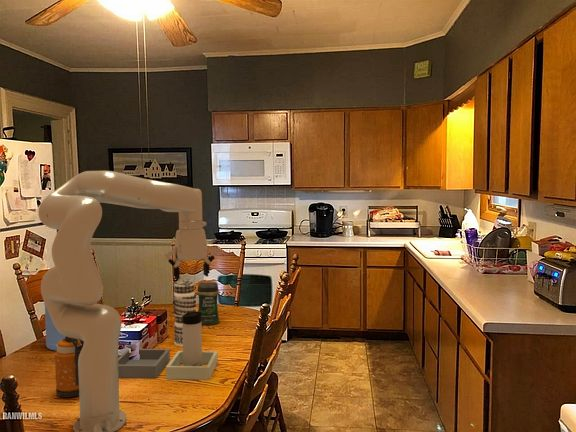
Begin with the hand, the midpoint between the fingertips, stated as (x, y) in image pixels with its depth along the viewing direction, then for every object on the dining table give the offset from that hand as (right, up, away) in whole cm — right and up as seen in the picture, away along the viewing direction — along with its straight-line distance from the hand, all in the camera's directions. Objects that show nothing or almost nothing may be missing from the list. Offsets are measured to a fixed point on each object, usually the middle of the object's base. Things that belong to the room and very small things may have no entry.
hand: (191, 277), depth 147 cm
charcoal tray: (-18, -32, +4) cm, 36 cm away
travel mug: (0, -32, +2) cm, 32 cm away
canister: (-32, -33, -14) cm, 48 cm away
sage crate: (0, -32, +2) cm, 32 cm away
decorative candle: (-9, -30, +29) cm, 43 cm away
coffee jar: (-4, -29, +54) cm, 61 cm away
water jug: (-54, -30, +27) cm, 68 cm away
